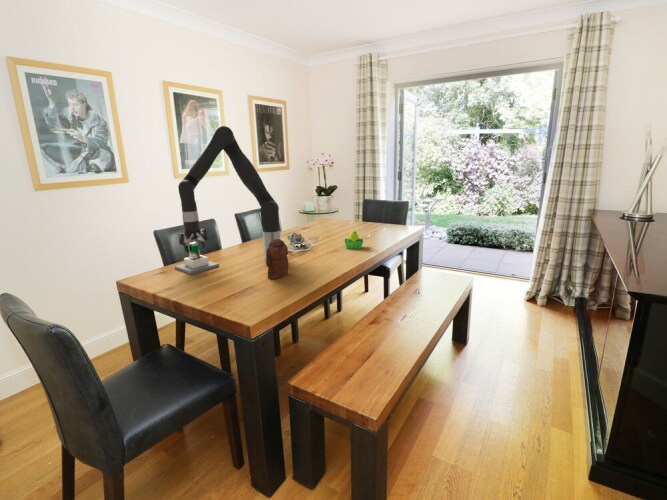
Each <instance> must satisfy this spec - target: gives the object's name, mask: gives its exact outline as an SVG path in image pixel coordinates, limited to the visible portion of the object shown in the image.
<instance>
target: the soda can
mask: <svg viewBox="0 0 667 500" xmlns="http://www.w3.org/2000/svg"><path fill="white" fill-rule="evenodd" d="M199 244H200V243H198V241H192V242H191V241H190V242H189V243H188V248H189V253H188V254H189V257H190V259H191V260H196V259H200V255H201V252H200V251H201V250H200V245H199Z"/></svg>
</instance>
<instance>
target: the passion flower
mask: <svg viewBox="0 0 667 500" xmlns="http://www.w3.org/2000/svg"><path fill="white" fill-rule="evenodd" d="M287 239H288V240H289V241H290V243H289V244H290V246H294V244H301V243H303V242H304V243H305V242H306V240H307V239H306V238H305V236H304V235H302V234H301V233H300V232H295V231H293V233H292V234H291V235H288V236H287Z"/></svg>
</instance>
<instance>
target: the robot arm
mask: <svg viewBox="0 0 667 500" xmlns="http://www.w3.org/2000/svg"><path fill="white" fill-rule="evenodd" d="M222 151H224V152H225V154H226V155H227V157H228V158H229V160H230V162H231V164H232V167H233V168H234V171H235V173H236V174H237V176H238V177H239V179H240V181H241V182H242V183H243V185H244V187H246V189H247V190H248V191H249V192H250V193H251V194H252V195H253V196H254V198H255V199H256V201H257V203H258V204H259V207H260V220H261V221H260V223H261V230H262V240H263V253H264V262H265V263H266V251H267V249H268V246H269V243H270V242H271V241H272V240H274V239H280V240H281V226H280V218H279V215H280V214H279V211H280V207H279V204H278V203H277V202H276V200H275V199H274V198H273V196H272V195H271V194H270V193H269V191H268V190H267V188H266V186H265V184H264V182H263V179H262V178H261V176H260V175H259V173H258V171H257V170H256V168H255V166H254V164H253V163H252V162H251V160H250V159H249V157H247V155H246V154H245V153H244V151H242V149H241V147H240V145H239V144H238V141H237V139H236V137H235V134H234V132H233V130H232V129H231V128H230V127H229V126H227V125H221V126H218V127H217V128H216V129H215V131H214V133H213V135H212V137H211V139H210V141H209V142H208V145H207V146H206V148H205V149H204V150H203V152H202V153H201V155H200V156H199V157H198V158H197V159H196V161H195V162H194V164H193V165H192V166H191V168H190V169H189V171H188V173H187V174H186V175H185V177H183V179H182V180H181V181H180V182H179V184H178V187H177V188H178V193H179V194H178V195H179V198H180V202H181V203H180V204H181V205H180V206H181V213H182V216H181V217H182V223H183V230H184V232H179V233H178V241H179V243H178V244H179V245H181V246H183V251H184V252H185V253H188V254H189V247H188V245H189V243H191V241H194V240H199V244H200V245H199V247H200V249H201V250H204V249H205V247H206V244H205V242H206V241H208V235H207V230H206V228H201V226H200V217H199V213H198V207H197V201H196V199H195V198H196V197H195V189H196V188H197V186H198V184H200V181H202V180H203V179H204V178H205V176H206V175H207V173H208V172H209V170H210V169H211V168H212V166H213V164H214V162H215V160H216V159H217V158H218V156H219V154H220V153H221V152H222ZM200 228H201V229H200ZM201 235H202V236H201Z"/></svg>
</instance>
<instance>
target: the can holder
mask: <svg viewBox="0 0 667 500" xmlns="http://www.w3.org/2000/svg"><path fill="white" fill-rule="evenodd" d="M183 261H184V263H181V264H178V265H174V269H175V270H177V271H180V272H183V273H186V274H189V275H193V274H194V275H195V274H198V273H201V272H205V271H209V270H212V269H215V268H218V267H220V263H218V262H215V261H210V260H209V256H205V255H204V254H203V255H202V254H200V259H196V260H191V259H190V256H188V257H184V258H183Z"/></svg>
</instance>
